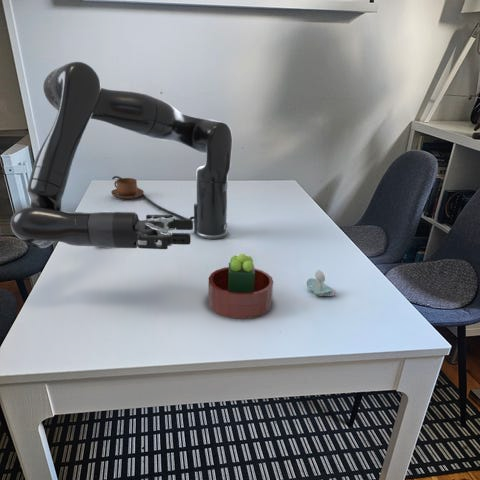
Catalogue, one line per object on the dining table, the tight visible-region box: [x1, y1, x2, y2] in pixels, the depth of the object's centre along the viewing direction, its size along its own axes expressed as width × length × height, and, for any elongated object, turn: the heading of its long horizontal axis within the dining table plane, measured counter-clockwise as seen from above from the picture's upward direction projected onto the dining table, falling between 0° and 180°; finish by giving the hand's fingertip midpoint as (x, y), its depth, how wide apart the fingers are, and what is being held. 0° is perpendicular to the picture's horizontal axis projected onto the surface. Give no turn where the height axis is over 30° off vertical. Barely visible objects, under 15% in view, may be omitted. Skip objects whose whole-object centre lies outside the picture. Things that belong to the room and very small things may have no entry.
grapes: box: [228, 253, 255, 293], centre depth 103 cm, size 6×6×12 cm
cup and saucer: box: [110, 177, 144, 200], centre depth 174 cm, size 12×12×6 cm
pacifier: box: [306, 269, 336, 297], centre depth 111 cm, size 7×6×6 cm
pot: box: [207, 266, 274, 320], centre depth 105 cm, size 15×15×6 cm
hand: (191, 231), depth 97 cm, fingers open, 8 cm apart
